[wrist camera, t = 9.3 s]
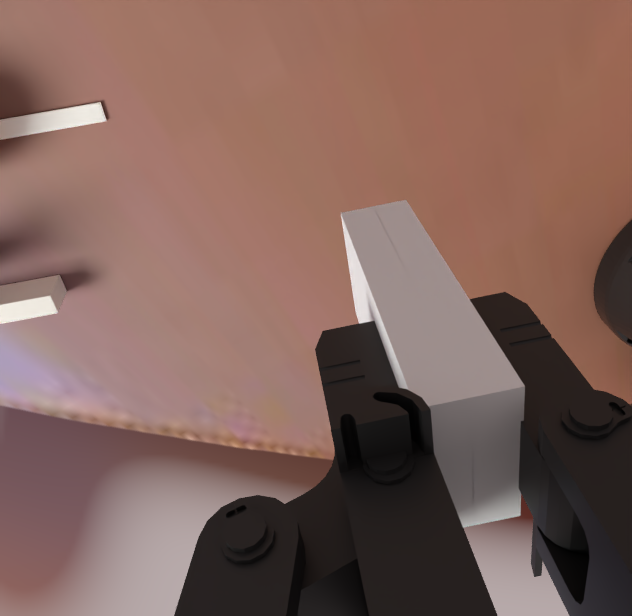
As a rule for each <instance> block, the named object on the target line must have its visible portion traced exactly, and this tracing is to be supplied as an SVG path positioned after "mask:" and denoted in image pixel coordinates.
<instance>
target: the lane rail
mask: <svg viewBox="0 0 632 616" xmlns="http://www.w3.org/2000/svg"><path fill="white" fill-rule="evenodd" d="M66 292H67V291H66V288H65V286H64V284H63V281H62V279H61V277H60V275H55V276H50V277H44V278H39V279H34V280H28V281H23V282H17V283H12V284H7V285H1V286H0V324H2V323H7V322H13V321H18V320H23V319H29V318H34V317H39V316H45V315H50V314H55V313H58V312H59V309H60V307H61V305H62V302H63V300H64V297H65V295H66Z"/></svg>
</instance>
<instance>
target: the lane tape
mask: <svg viewBox="0 0 632 616" xmlns="http://www.w3.org/2000/svg"><path fill="white" fill-rule="evenodd" d="M104 121H107V120H106V117H105V114H104V111H103V108H102V105H101V102H97V103H91V104H85V105H80V106H74V107H68V108H63V109H57V110H51V111H46V112H40V113H34V114H29V115H23V116H17V117H12V118H6V119H0V140H3V139H8V138H14V137H20V136H25V135H31V134H36V133H42V132H48V131H53V130H59V129H65V128H70V127H76V126H81V125H87V124H93V123H98V122H104Z"/></svg>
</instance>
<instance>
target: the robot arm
mask: <svg viewBox="0 0 632 616" xmlns="http://www.w3.org/2000/svg"><path fill="white" fill-rule="evenodd" d="M341 218H342V225H343V231H344V238H345V244H346V251H347V257H348V264H349V271H350V277H351V284H352V290H353V297H354V304H355V310H356V314H357V317H358V321H359V324H355V325H350V326H345V327H340V328H335V329H330V330H326V331H323V332H322V334H321V337H320V339H319V342H318V344H317V346H316V349H315V351H316V356H317V361H318V366H319V371H320V376H321V381H322V386H323V391H324V396H325V401H326V406H327V410H328V415H329V420H330V425H331V432H332V437H333V442H334V447H335V457H334V460H333V464H332V467H331V468H330V470H329V472H328V473H327V475H326V477H325V478H324V479H323V480H322V481H321V482H320V483H319V484H318V485H317V486H316V487H314V488H313V489H311V490H310V491H308V492H306V493H305V494H303V495H301V496H299V497H297V498H296V499H294V500H292V501H290V502H288V503H286V504H284V503H282V502H281V501H279V500H277V499H276V498H271V497H265V496H259V495H256V496H251V497H245V498H239V499H237V500H236V501H233V502H231V503H229V504H227V505H225V506H223V507H221V508H220V509H219V510H218V511H217V512H216V513H215V514H214V515H213V516H212V517H211V518H210V519H209V520H208V521H207V523H206V525H205V526H204V528H203V530H202V532H201V534H200V536H199V538H198V541H197V544H196V547H195V551H194V554H193V557H192V560H191V563H190V567H189V570H188V573H187V576H186V579H185V583H184V586H183V589H182V593H181V595H180V599H179V602H178V605H177V609H176V612H175V615H174V616H497V613H496V611H495V608H494V606H493V603H492V600H491V598H490V595H489V593H488V590H487V588H486V585H485V583H484V580H483V577H482V575H481V572H480V570H479V567H478V565H477V562H476V559H475V557H474V554H473V552H472V549H471V547H470V544H469V541H468V539H467V537H466V534H465V531H464V529H463V528H464V527H468V526H473V525H478V524H483V523H488V522H492V521H497V520H502V519H507V518H512V517H516V516H520V509H521V494H522V495H523V498H524V500H525V501H526V504H527V506H528V507H529V509H530V511H531V513H532V515H533V536H532V555H531V565H532V569H533V573H534V577H536V576H541V572H542V560H543V562H544V564H545V566H546V568H547V570H548V572H549V575H550V577H551V579H552V581H553V583H554V585H555V587H556V589H557V591H558V593H559V595H560V597H561V599H562V601H563V603H564V605H565V607H566V609H567V611H568V613H569V615H570V616H632V404H630V405H629V404H628V403H627V402H626V401H624V400H623V399H621V398H618V397H616V396H614V395H612V394H609V393H607V392H604V391H598V390H594V389H593V388H592V387H591V385H590V384H589V383H588V381H587V380H586V379H585V378H584V376H583V375H582V374H581V372H580V371H579V370H578V369H577V367H576V366H575V365H574V364H573V362H572V361H571V360H570V358H569V357H568V356H567V355H566V353H565V352H564V351H563V349H562V348H561V347H560V346H559V344H558V343H557V342H556V341H555V339H554V338H553V339H552V338H551V334H550V333H549V332H548V330H547V329H546V328H545V326H544V325H543V324H542V325H541V323H540V320H539V319H538V317H537V316H536V315H535V314H534V312H533V311H532V310H531V309H530V307H529V306H528V305H527V304H526V303H524V302H522V301H520V300H519V299H517V298H515V297H513V296H511V295H510V294H508V293H506V292H503V293H498V294H493V295H488V296H483V297H478V298H473V299H469V298H468V296H467V295H466V293H465V292H464V290H463V289H462V287H461V285H460V284H459V282H458V281H457V279H456V278H455V276H454V274H453V273H452V271H451V270H450V268H449V267H448V265H447V263H446V262H445V260H444V259H443V257H442V256H441V254H440V253H439V251H438V249H437V248H436V246H435V245H434V243H433V242H432V240H431V238H430V237H429V235H428V234H427V232H426V231H425V229H424V227H423V226H422V224H421V223H420V221H419V220H418V218H417V216H416V215H415V213H414V212H413V210H412V209H411V207H410V206H409V204H408V202H407V201H406V200H403V201H398V202H393V203H388V204H383V205H378V206H373V207H368V208H363V209H358V210H353V211H348V212H343V213H341ZM594 301H595V306H596V309H597V312H598V314H599V316H600V318H601V319H602V320H603V322H604V323H605V324H606V325H607V326H608V327H609V328H610V329H611V330H612V331H613V332H614V334H615V335H616V336H617V337H618V338H620V339H621V340H622V341H624V342H625V343H626V344H628V345H630V346H632V220H631V221H630V222H629V223H628V224H627V225H626V226H625V227H624V228H623V229H622V230H621V232H620V233H619V234H618V235H617V236H616V238H615V239H614V240H613V242H612V243H611V245H610V246H609V248H608V249H607V251H606V253H605V254H604V256H603V258H602V260H601V263H600V265H599V268H598V270H597V274H596V278H595V283H594Z"/></svg>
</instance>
